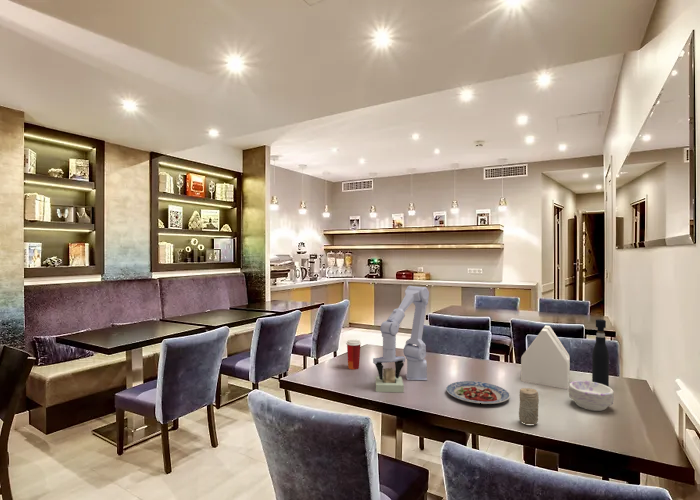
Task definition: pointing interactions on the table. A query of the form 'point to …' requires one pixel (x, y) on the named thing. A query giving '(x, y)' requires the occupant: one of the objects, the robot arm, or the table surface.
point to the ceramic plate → (478, 392)
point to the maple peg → (388, 375)
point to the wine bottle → (600, 356)
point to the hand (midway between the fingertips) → (389, 378)
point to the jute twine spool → (528, 406)
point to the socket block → (389, 385)
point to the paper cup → (353, 354)
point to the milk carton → (546, 361)
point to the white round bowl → (591, 395)
